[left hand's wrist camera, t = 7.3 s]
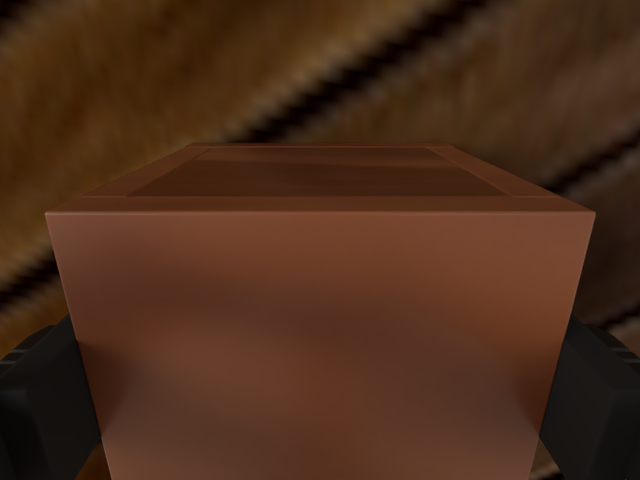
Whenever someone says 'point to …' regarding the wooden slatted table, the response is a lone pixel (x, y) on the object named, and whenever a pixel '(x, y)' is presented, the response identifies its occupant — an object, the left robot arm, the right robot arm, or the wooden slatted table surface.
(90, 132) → the wooden slatted table surface
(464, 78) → the wooden slatted table surface
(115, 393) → the cabinet
